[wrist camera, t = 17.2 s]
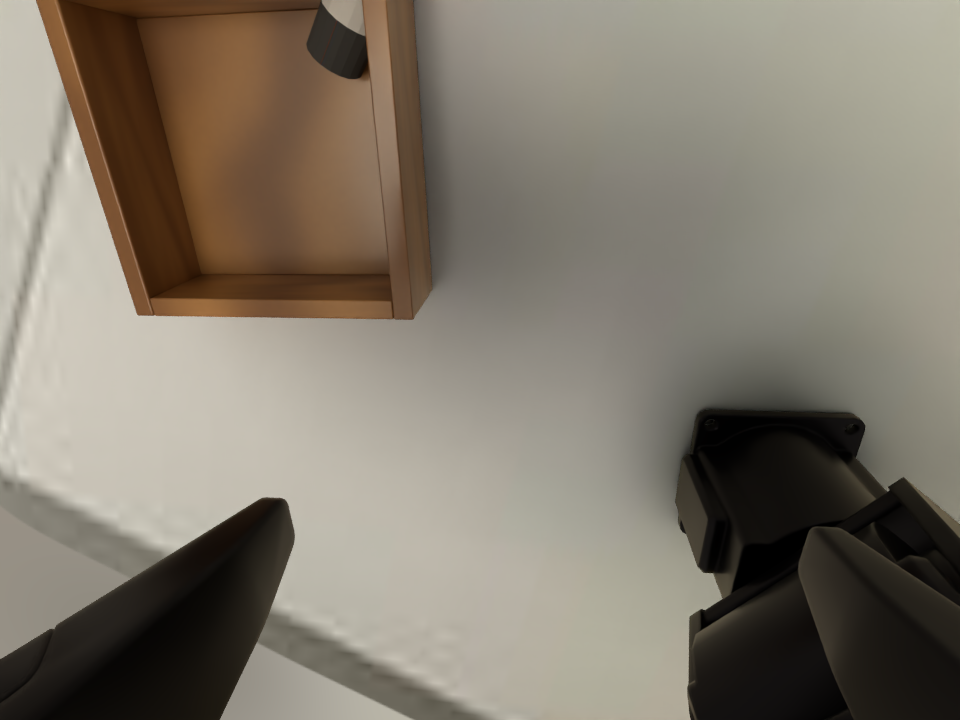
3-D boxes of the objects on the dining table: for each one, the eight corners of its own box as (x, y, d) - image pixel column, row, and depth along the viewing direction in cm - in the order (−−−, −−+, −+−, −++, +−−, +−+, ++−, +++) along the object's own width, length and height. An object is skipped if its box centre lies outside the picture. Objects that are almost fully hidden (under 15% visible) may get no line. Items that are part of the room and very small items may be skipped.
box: (412, -21, 17) (381, -53, 14) (432, 290, 21) (413, 320, 18) (116, -4, 18) (25, -30, 15) (194, 288, 22) (136, 316, 19)
